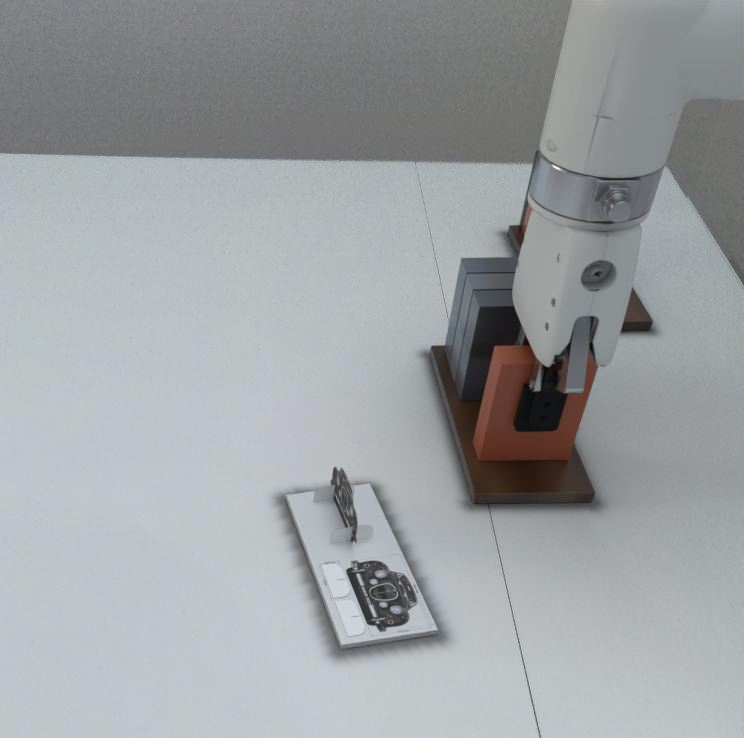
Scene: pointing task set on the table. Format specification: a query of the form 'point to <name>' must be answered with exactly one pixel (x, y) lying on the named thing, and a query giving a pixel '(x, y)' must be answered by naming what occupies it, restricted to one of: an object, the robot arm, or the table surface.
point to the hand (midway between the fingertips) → (529, 414)
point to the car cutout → (359, 565)
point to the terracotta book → (501, 405)
